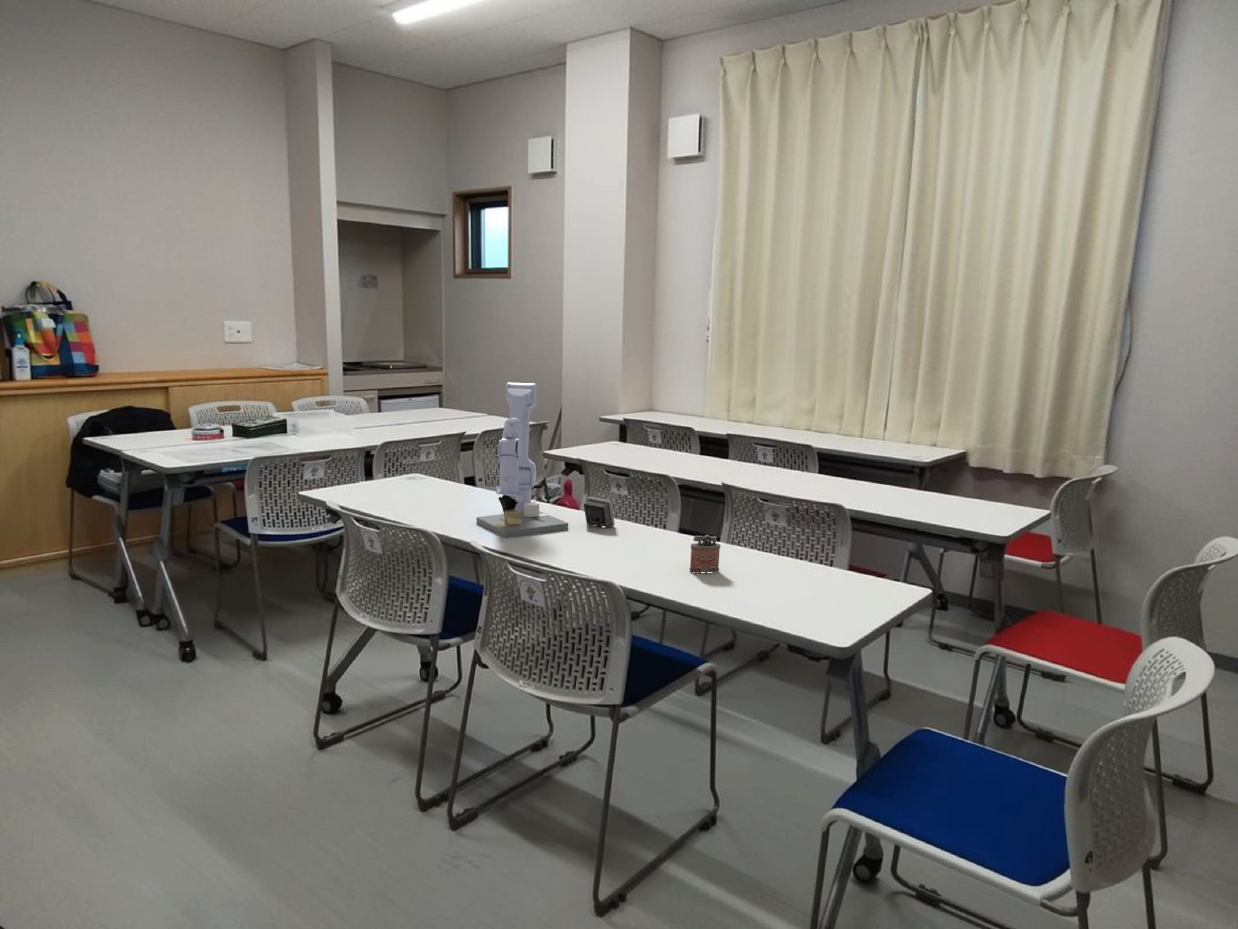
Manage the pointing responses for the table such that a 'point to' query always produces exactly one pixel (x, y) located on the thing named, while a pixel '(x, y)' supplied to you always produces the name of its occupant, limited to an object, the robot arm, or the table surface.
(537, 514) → the switch white
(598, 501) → the electrical switch
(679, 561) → the table surface
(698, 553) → the lighter
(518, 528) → the grey base plate
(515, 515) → the wooden block
